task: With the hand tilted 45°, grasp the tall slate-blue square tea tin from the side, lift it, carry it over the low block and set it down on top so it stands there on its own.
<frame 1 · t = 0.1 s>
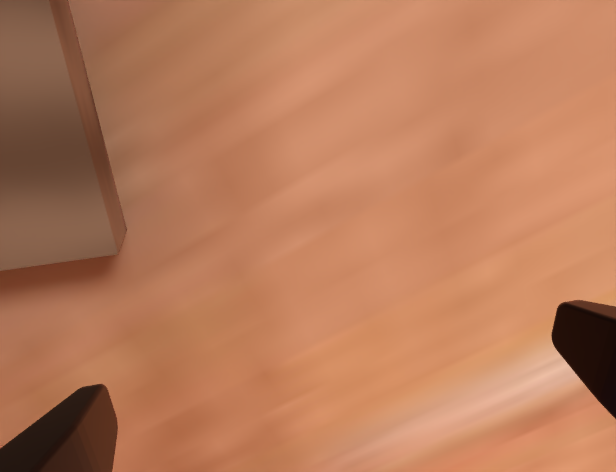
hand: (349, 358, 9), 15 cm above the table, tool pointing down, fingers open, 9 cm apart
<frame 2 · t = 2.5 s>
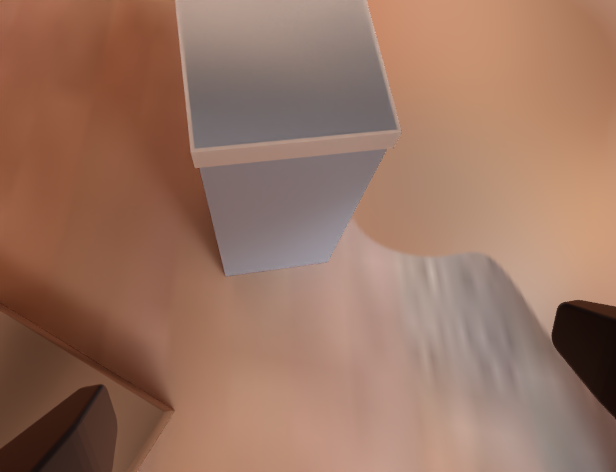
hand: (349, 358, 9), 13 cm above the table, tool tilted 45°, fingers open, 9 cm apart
tin: (269, 221, 24), on the table
block: (9, 458, 20), on the table
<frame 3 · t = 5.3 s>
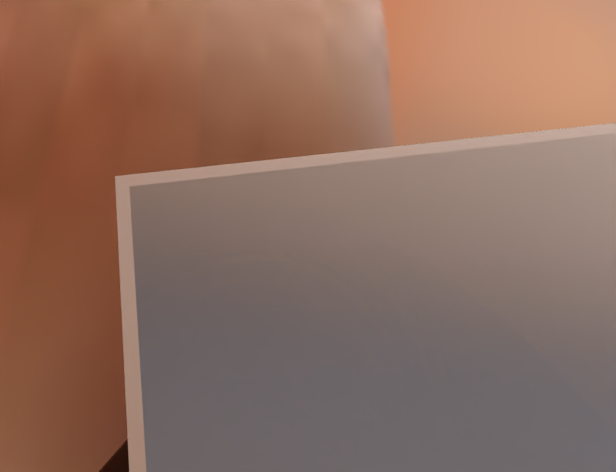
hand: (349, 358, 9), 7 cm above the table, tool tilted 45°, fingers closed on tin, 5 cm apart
tin: (319, 421, 15), on the table, touching gripper
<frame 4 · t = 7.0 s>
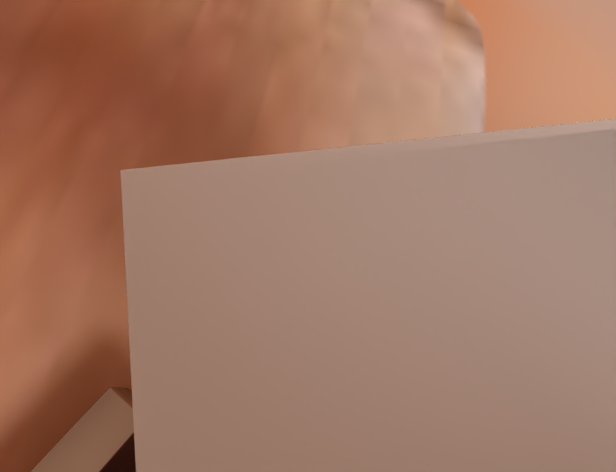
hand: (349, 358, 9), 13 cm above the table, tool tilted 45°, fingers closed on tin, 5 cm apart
tin: (320, 420, 15), point 7 cm above the table, touching gripper
when the fingers open (10 cm above the table, at t = 8.6 s): tin drops 1 cm, point 3 cm above the table.
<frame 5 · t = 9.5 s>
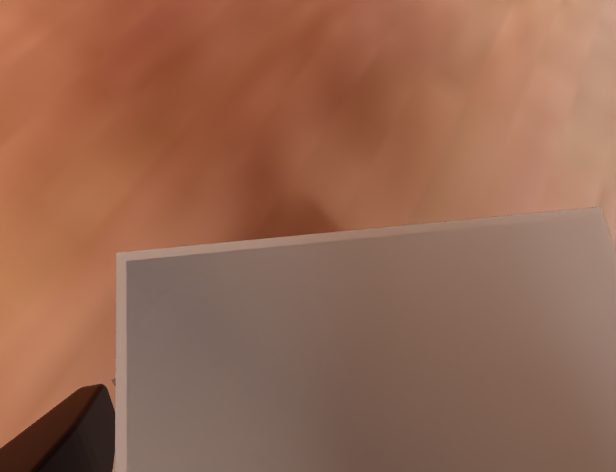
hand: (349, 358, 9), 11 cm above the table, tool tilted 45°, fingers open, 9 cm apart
tin: (311, 424, 16), point 3 cm above the table
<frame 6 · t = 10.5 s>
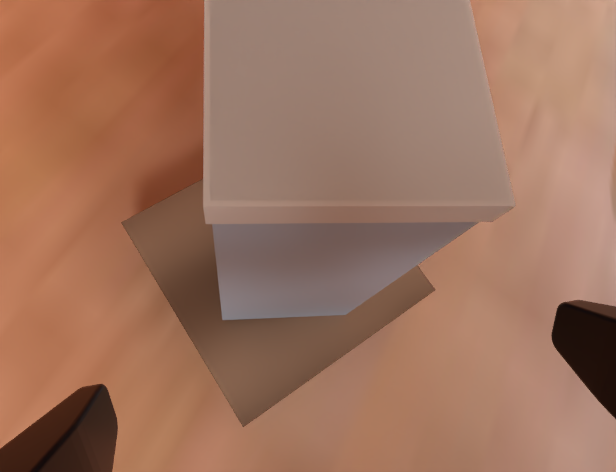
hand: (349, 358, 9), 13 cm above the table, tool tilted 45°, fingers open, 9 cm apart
tin: (282, 257, 20), point 3 cm above the table
block: (277, 273, 23), on the table
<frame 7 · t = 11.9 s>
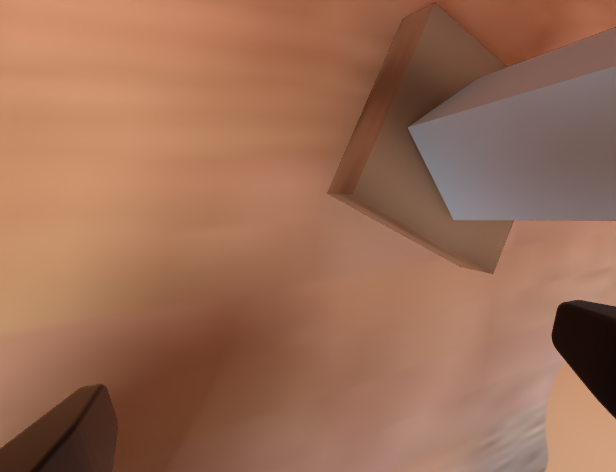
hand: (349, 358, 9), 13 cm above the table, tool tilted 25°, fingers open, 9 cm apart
tin: (466, 148, 23), point 3 cm above the table, touching block
block: (427, 151, 26), on the table, touching tin
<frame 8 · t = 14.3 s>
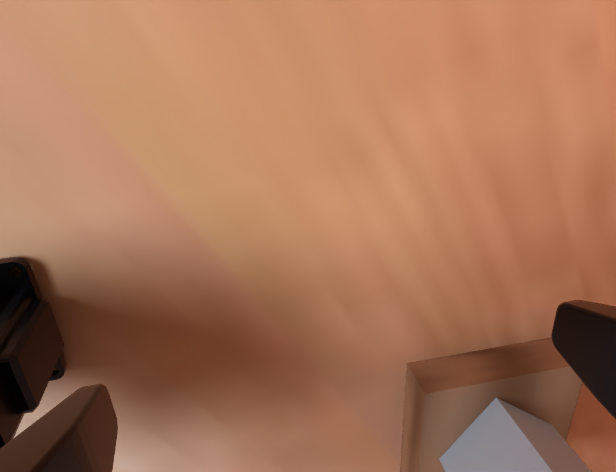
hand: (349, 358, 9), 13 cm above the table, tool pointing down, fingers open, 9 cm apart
tin: (496, 441, 28), point 3 cm above the table
block: (471, 404, 31), on the table
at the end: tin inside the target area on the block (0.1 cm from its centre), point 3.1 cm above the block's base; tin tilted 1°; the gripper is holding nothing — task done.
